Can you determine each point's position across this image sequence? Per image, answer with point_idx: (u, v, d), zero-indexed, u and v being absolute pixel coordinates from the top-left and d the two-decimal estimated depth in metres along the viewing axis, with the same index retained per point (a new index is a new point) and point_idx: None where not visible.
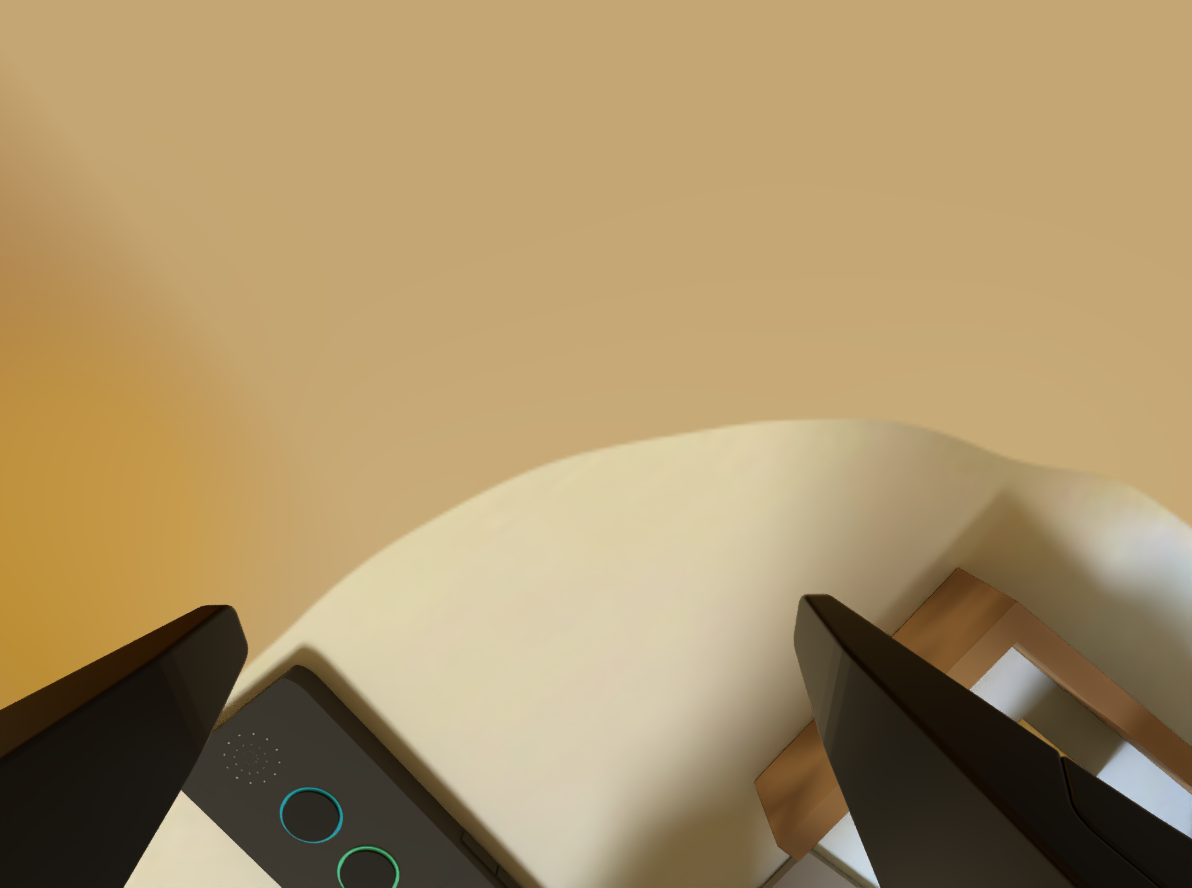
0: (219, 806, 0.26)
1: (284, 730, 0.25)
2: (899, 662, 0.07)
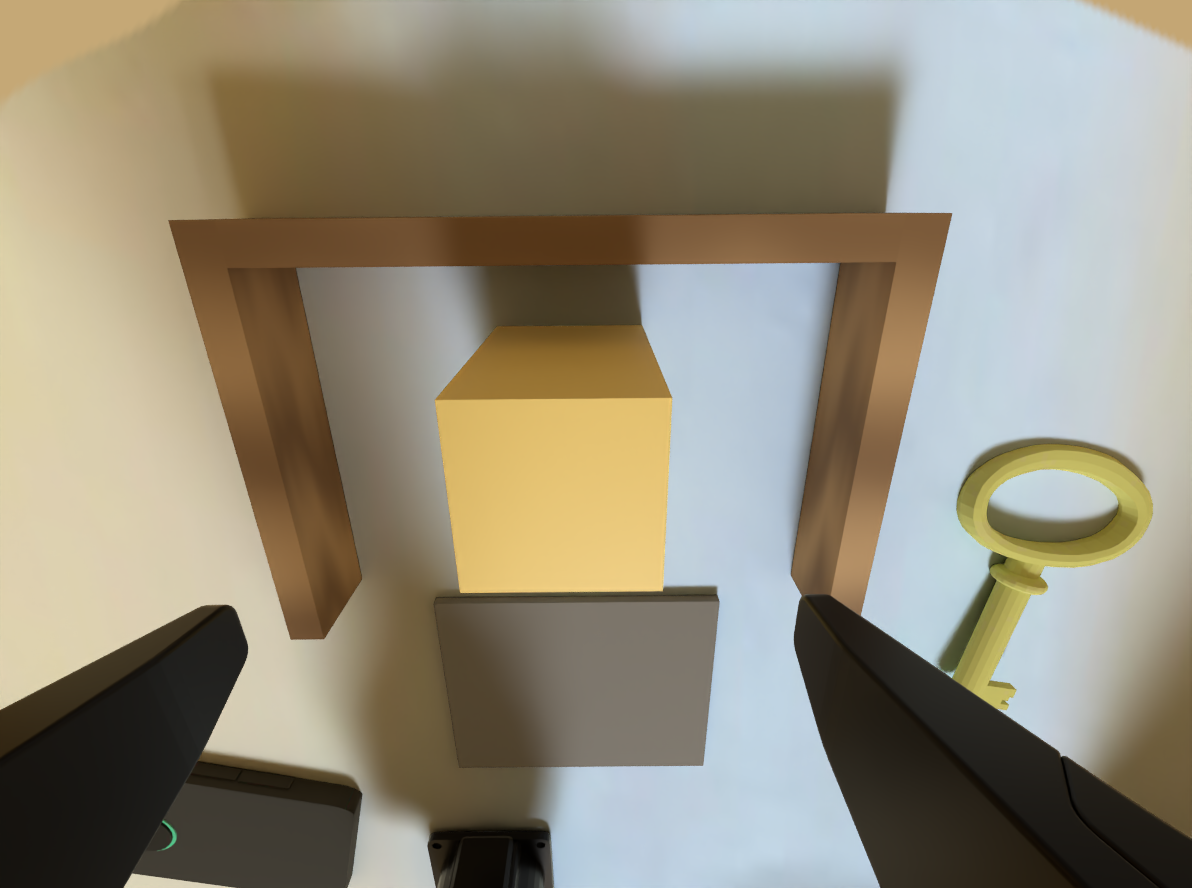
0: None
1: None
2: (899, 662, 0.07)
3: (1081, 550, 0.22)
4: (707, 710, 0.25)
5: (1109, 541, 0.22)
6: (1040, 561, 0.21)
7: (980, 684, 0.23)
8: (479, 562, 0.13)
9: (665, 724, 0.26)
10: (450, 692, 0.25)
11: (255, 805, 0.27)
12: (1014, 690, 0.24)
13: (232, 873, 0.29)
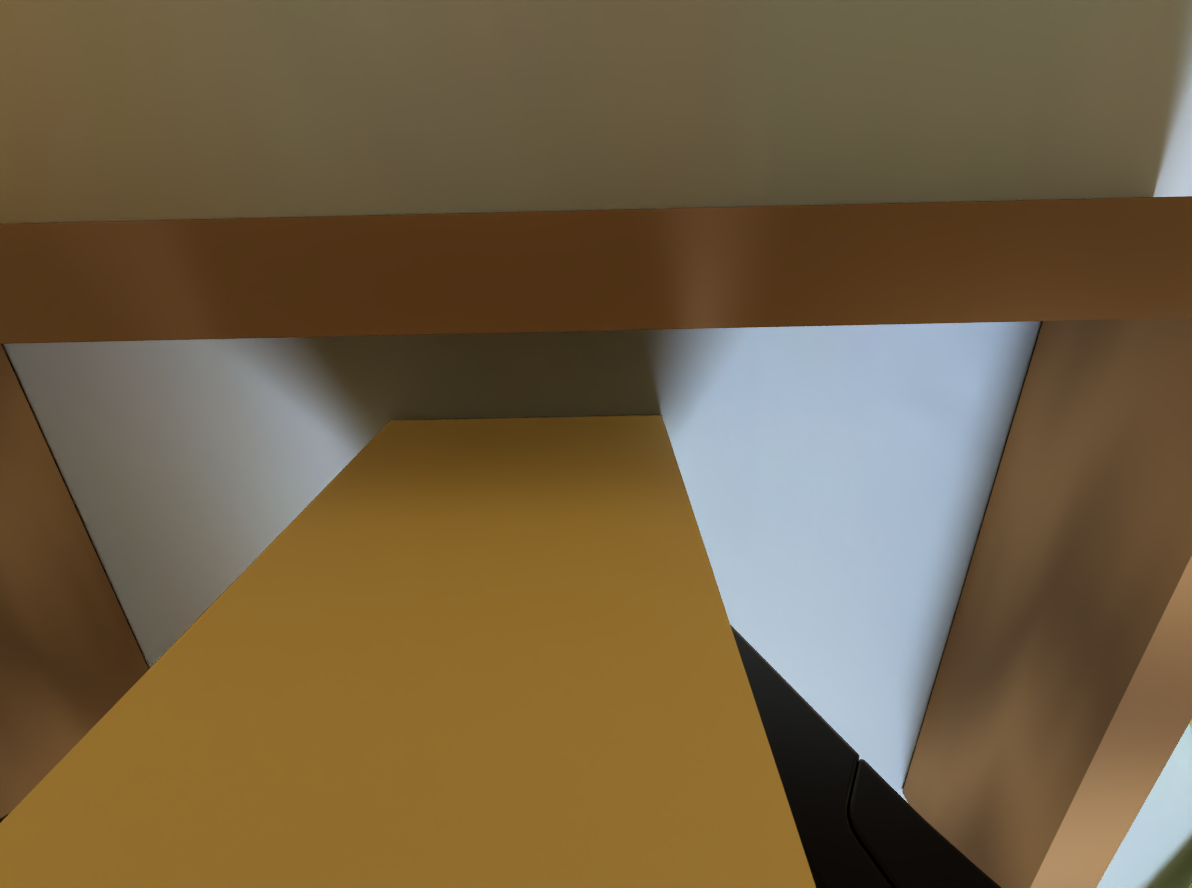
0: None
1: None
2: None
3: None
4: None
5: None
6: None
7: None
8: None
9: None
10: None
11: None
12: None
13: None
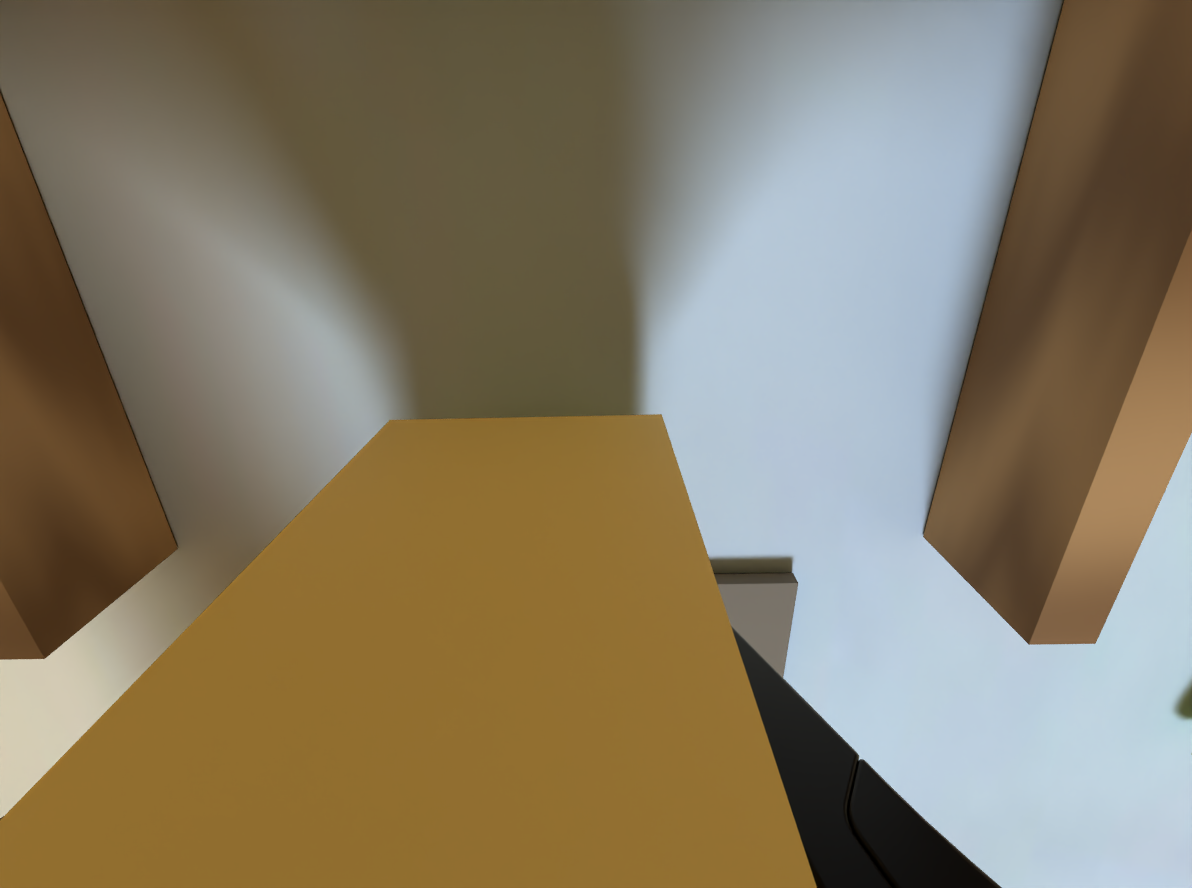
0: None
1: None
2: None
3: None
4: None
5: None
6: None
7: None
8: None
9: None
10: None
11: None
12: None
13: None
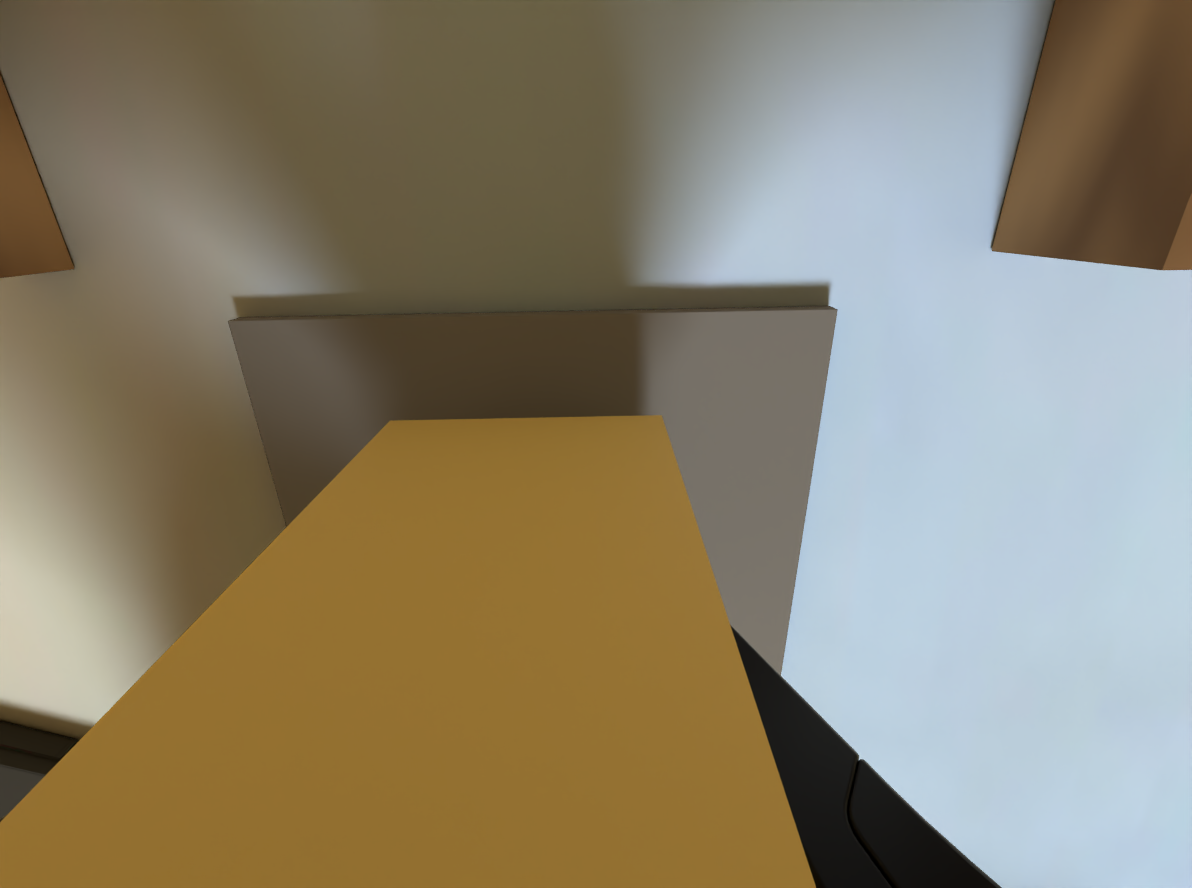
0: None
1: None
2: None
3: None
4: (794, 573, 0.13)
5: None
6: None
7: None
8: None
9: None
10: None
11: None
12: None
13: None
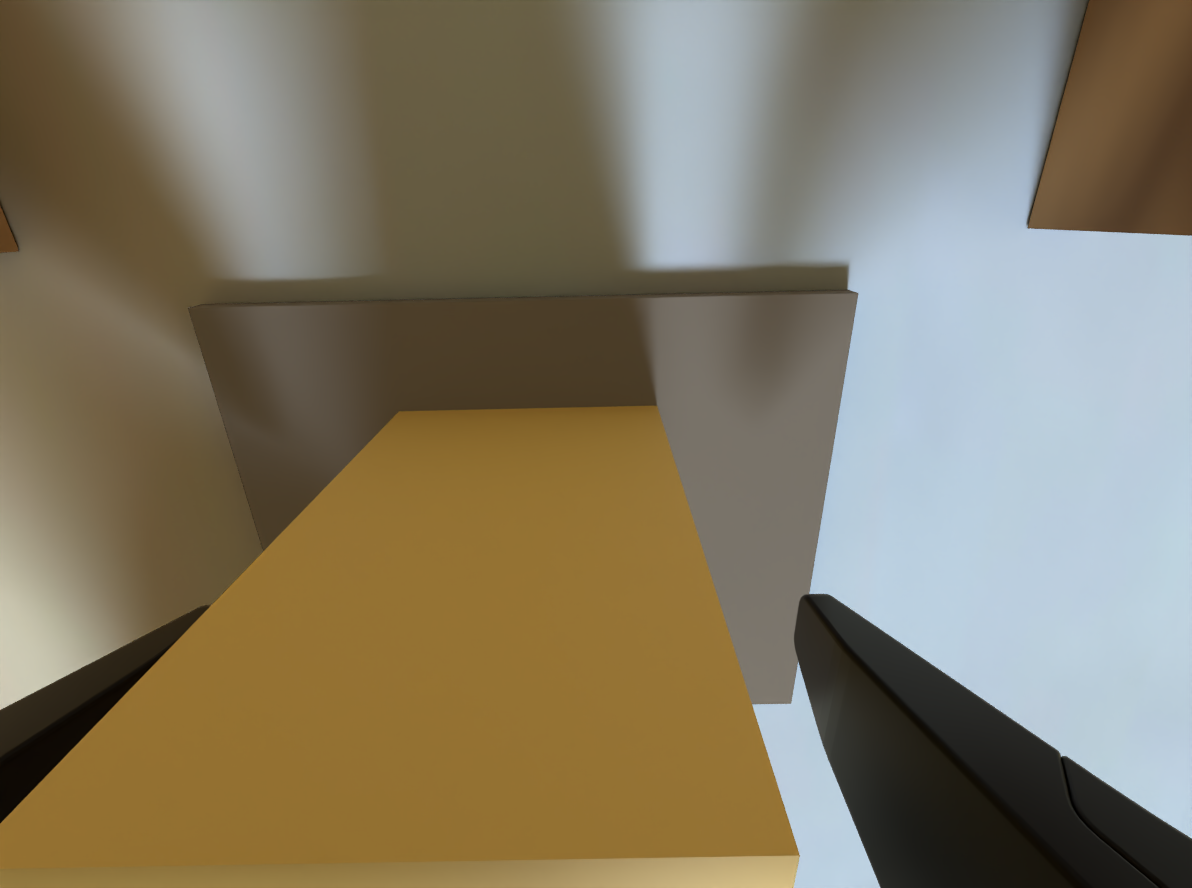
0: None
1: None
2: (899, 662, 0.07)
3: None
4: (808, 581, 0.12)
5: None
6: None
7: None
8: None
9: None
10: (267, 544, 0.12)
11: None
12: None
13: None
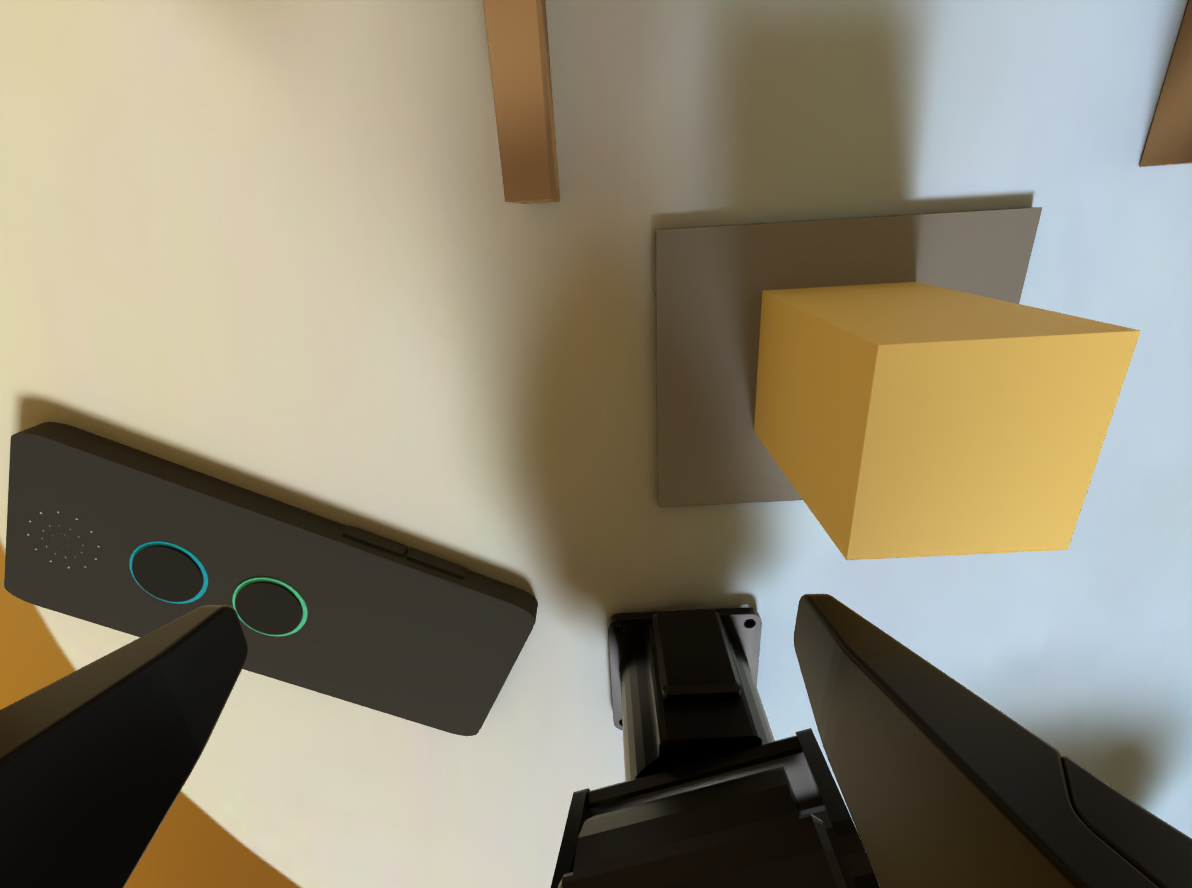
0: (81, 604, 0.22)
1: (65, 494, 0.20)
2: (899, 662, 0.07)
3: None
4: None
5: None
6: None
7: None
8: (877, 525, 0.12)
9: None
10: (661, 382, 0.19)
11: (420, 591, 0.22)
12: None
13: (355, 682, 0.24)
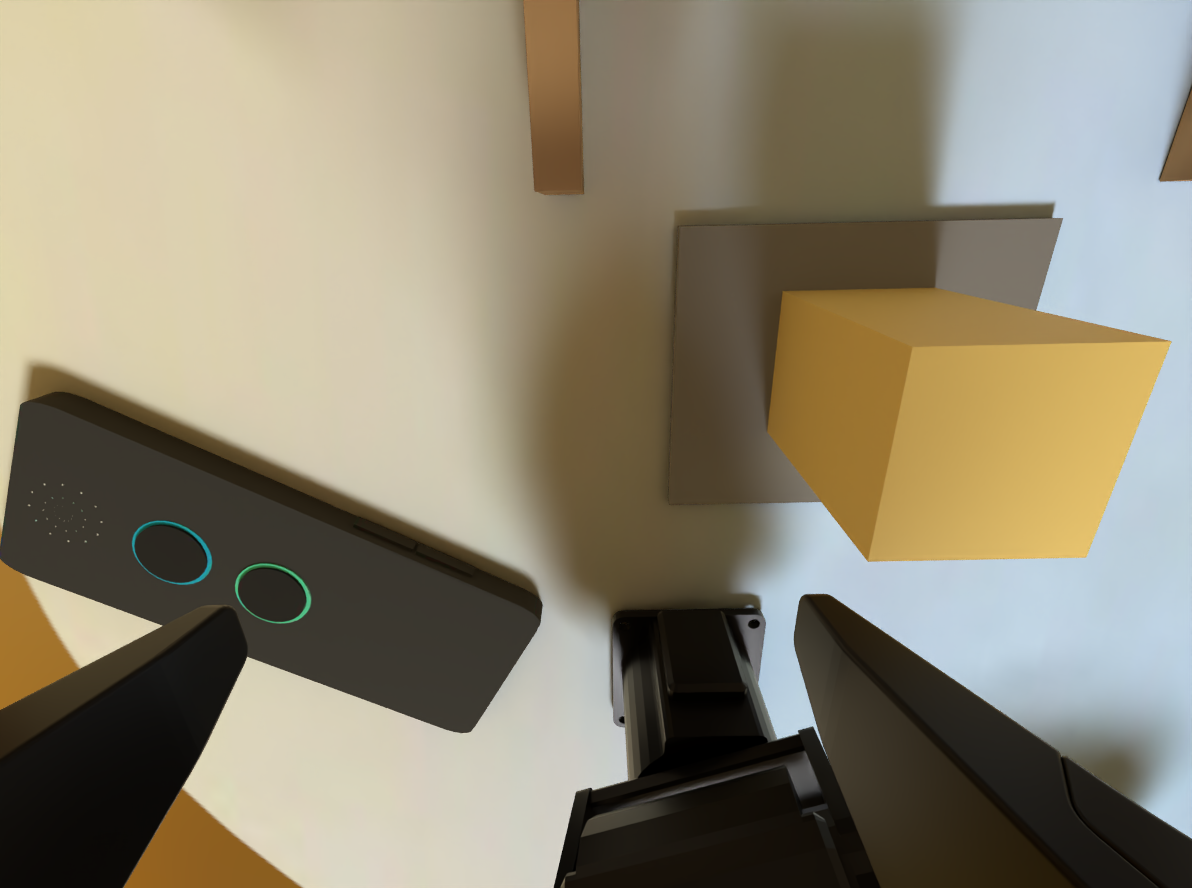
0: (78, 579, 0.22)
1: (72, 467, 0.20)
2: (899, 662, 0.07)
3: None
4: None
5: None
6: None
7: None
8: (900, 527, 0.12)
9: None
10: (677, 380, 0.19)
11: (428, 587, 0.22)
12: None
13: (353, 673, 0.24)
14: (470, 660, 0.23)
